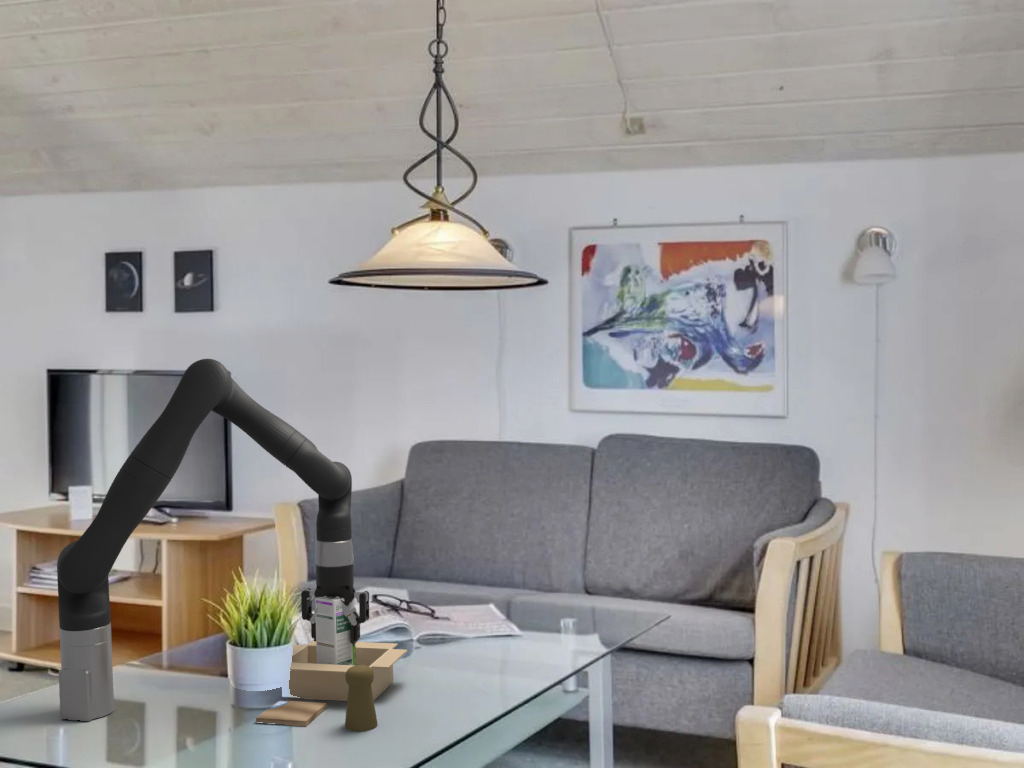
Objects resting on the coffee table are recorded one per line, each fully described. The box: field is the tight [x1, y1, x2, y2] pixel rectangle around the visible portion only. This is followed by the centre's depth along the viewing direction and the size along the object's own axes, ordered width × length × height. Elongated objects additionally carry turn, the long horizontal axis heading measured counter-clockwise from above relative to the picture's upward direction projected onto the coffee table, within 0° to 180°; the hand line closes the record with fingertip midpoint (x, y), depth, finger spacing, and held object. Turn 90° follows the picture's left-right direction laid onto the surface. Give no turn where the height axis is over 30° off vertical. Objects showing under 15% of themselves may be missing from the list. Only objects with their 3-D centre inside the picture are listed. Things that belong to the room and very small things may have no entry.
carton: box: [289, 639, 409, 702], centre depth 223 cm, size 26×20×7 cm
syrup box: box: [314, 597, 356, 666], centre depth 222 cm, size 6×6×14 cm
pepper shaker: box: [344, 665, 378, 733], centre depth 202 cm, size 6×6×11 cm
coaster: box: [255, 700, 328, 727], centre depth 208 cm, size 10×10×1 cm
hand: (335, 641), depth 223 cm, fingers closed on syrup box, 7 cm apart
